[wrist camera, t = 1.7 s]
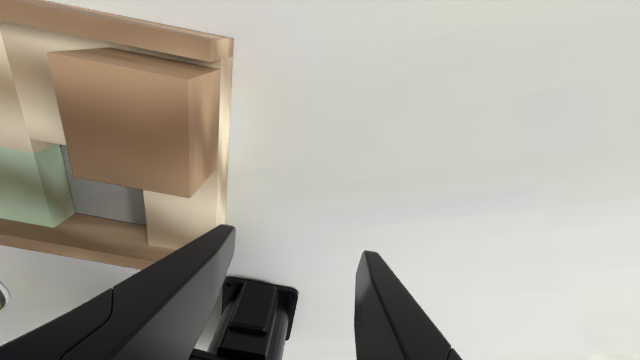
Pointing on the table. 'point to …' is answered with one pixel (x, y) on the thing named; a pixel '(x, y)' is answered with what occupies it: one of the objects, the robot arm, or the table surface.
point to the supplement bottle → (3, 296)
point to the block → (138, 118)
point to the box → (47, 135)
